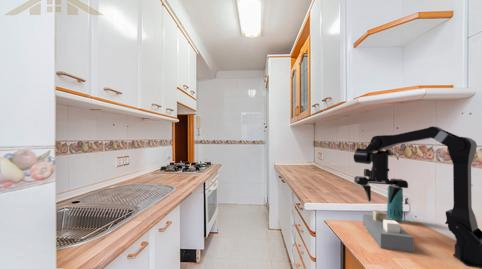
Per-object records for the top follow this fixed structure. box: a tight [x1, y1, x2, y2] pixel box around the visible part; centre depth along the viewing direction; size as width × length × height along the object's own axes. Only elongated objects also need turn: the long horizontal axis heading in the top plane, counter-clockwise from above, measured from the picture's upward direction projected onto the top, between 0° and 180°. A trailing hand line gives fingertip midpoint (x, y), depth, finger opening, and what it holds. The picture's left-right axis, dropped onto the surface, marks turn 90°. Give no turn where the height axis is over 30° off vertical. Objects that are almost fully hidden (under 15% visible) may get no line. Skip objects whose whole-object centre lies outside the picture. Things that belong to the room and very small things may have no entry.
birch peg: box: [372, 209, 387, 221], centre depth 94 cm, size 4×4×5 cm
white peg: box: [383, 219, 401, 233], centre depth 83 cm, size 4×4×5 cm
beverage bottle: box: [386, 178, 404, 221], centre depth 108 cm, size 6×7×20 cm
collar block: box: [362, 214, 415, 253], centre depth 88 cm, size 10×22×5 cm, turn 166°
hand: (379, 202), depth 94 cm, fingers open, 7 cm apart
